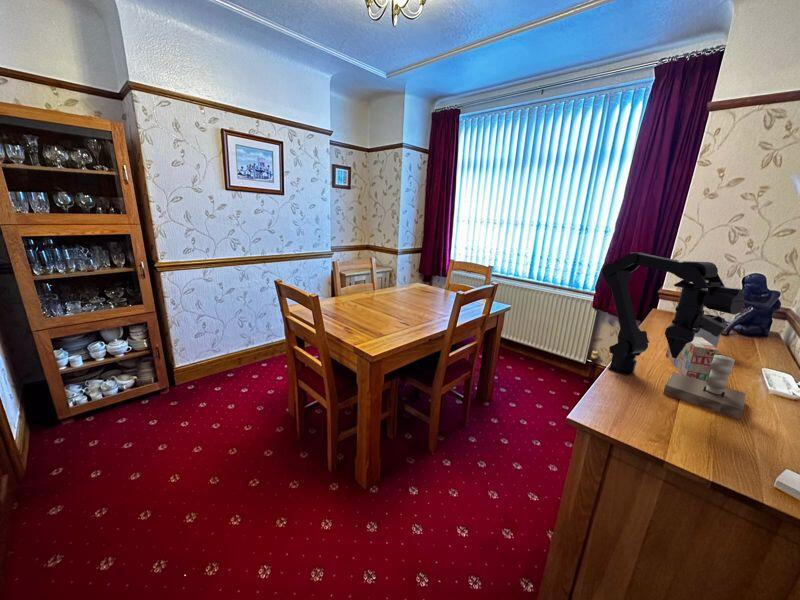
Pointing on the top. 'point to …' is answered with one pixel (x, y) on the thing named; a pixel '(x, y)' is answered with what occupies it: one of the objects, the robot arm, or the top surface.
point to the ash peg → (719, 374)
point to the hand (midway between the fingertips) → (677, 353)
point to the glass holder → (708, 335)
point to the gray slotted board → (705, 395)
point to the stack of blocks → (695, 359)
